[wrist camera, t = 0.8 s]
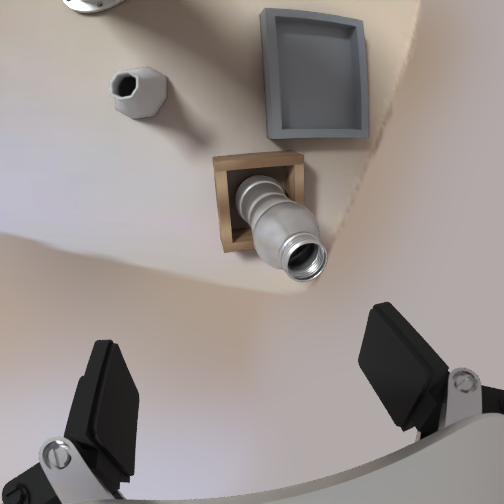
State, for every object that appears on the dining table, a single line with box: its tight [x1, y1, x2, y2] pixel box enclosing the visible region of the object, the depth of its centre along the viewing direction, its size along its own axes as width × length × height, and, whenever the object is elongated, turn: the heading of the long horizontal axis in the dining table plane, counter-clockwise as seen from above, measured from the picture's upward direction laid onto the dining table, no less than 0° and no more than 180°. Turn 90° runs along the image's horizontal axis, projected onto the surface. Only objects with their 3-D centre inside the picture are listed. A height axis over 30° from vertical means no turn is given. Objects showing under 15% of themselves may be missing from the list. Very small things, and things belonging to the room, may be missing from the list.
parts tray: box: [260, 8, 369, 139], centre depth 33 cm, size 18×14×3 cm
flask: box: [109, 67, 167, 119], centre depth 27 cm, size 7×7×10 cm
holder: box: [213, 151, 304, 253], centre depth 39 cm, size 12×11×4 cm
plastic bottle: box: [235, 175, 328, 282], centre depth 32 cm, size 6×7×20 cm
